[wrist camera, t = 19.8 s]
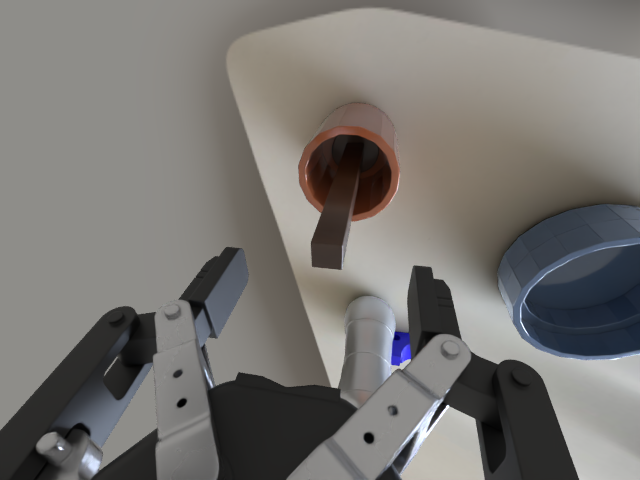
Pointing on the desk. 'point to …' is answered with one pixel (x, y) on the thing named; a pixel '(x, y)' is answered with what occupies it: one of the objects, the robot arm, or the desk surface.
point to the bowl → (577, 283)
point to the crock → (373, 183)
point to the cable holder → (400, 348)
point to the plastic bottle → (366, 348)
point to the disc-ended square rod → (341, 199)
